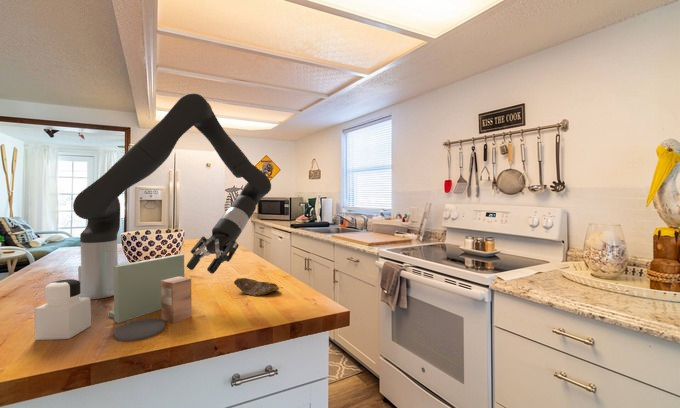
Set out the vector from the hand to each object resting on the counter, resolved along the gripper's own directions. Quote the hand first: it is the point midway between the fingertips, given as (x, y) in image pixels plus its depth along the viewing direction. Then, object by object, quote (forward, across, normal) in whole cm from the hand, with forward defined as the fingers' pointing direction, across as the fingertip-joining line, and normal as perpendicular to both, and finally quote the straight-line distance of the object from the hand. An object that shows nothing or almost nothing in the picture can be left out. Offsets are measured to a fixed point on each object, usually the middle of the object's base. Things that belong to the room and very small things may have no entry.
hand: (199, 270), depth 88 cm
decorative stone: (-6, +3, +22) cm, 23 cm away
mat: (+19, 0, -4) cm, 19 cm away
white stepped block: (+26, -14, -10) cm, 31 cm away
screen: (+13, -13, +3) cm, 18 cm away
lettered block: (+13, 0, +3) cm, 13 cm away
